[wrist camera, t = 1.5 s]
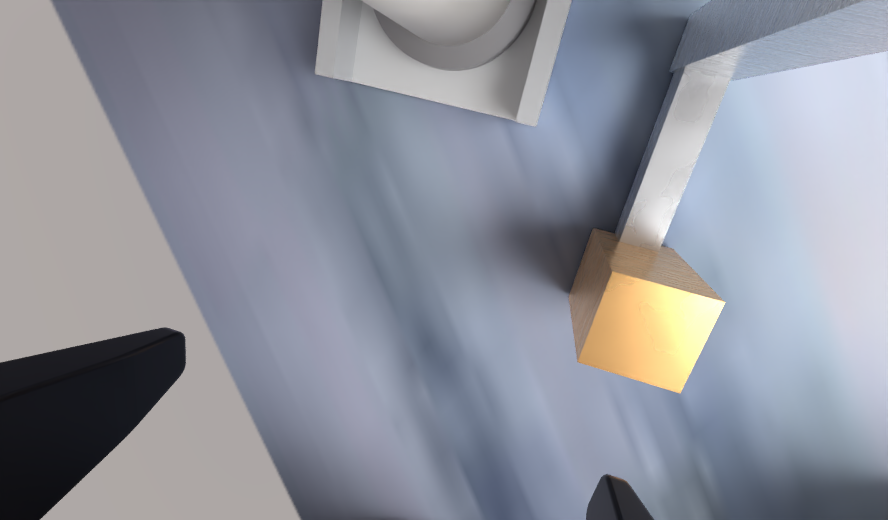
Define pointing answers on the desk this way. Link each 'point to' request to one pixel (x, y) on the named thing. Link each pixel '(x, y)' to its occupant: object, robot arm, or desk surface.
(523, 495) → the desk surface
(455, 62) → the white cylinder
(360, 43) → the gray square tray
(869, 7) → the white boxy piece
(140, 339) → the robot arm
